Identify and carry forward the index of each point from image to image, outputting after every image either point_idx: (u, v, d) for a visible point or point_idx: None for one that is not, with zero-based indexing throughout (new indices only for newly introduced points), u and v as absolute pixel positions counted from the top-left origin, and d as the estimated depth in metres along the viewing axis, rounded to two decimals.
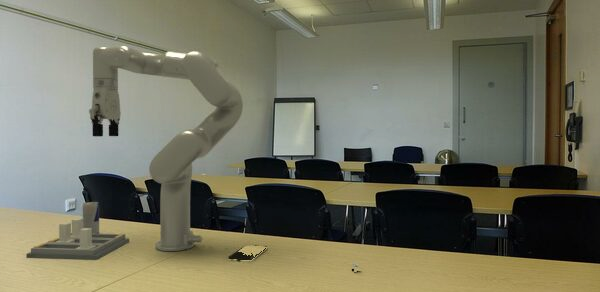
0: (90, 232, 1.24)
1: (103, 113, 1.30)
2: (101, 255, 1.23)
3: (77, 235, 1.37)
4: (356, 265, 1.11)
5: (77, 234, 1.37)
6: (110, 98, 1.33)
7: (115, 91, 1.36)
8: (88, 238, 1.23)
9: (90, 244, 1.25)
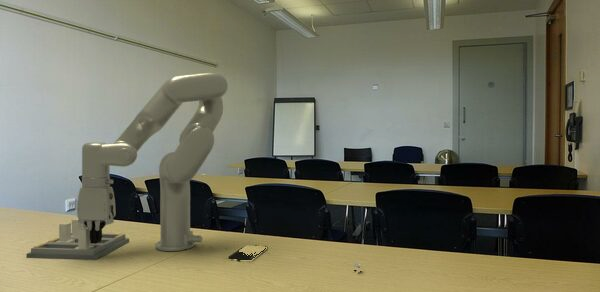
0: (89, 232, 1.25)
1: (115, 213, 1.25)
2: (101, 255, 1.23)
3: (77, 235, 1.37)
4: (358, 265, 1.11)
5: (77, 234, 1.37)
6: None
7: None
8: (87, 238, 1.24)
9: (89, 244, 1.25)
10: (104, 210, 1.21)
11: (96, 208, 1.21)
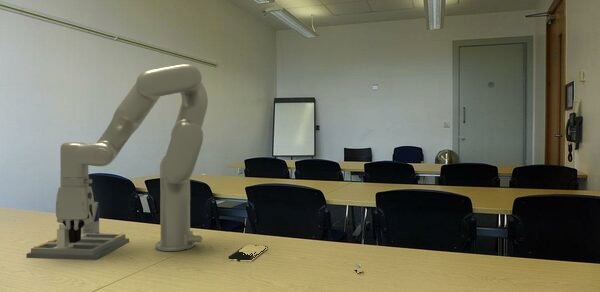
0: (68, 231, 1.25)
1: (94, 213, 1.26)
2: (101, 255, 1.23)
3: None
4: (359, 266, 1.11)
5: None
6: None
7: None
8: (65, 237, 1.24)
9: (68, 243, 1.25)
10: (82, 209, 1.22)
11: (74, 208, 1.21)
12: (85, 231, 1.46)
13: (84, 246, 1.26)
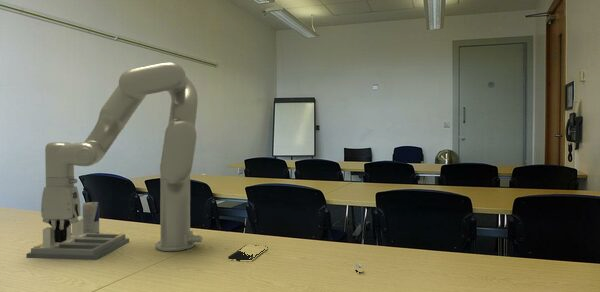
0: None
1: (79, 212, 1.26)
2: (101, 255, 1.23)
3: (77, 235, 1.37)
4: (359, 266, 1.11)
5: (77, 234, 1.37)
6: None
7: None
8: (51, 237, 1.24)
9: (54, 243, 1.25)
10: (68, 209, 1.22)
11: (60, 208, 1.22)
12: (85, 231, 1.46)
13: (84, 246, 1.26)
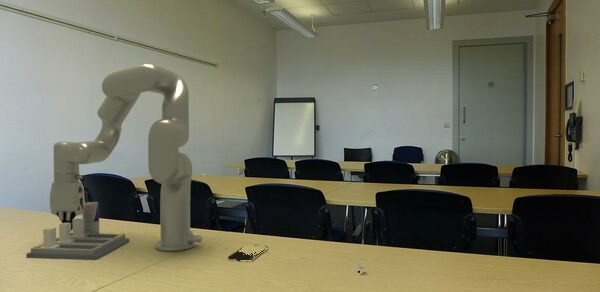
0: (54, 231, 1.25)
1: (84, 205, 1.39)
2: (101, 255, 1.23)
3: (78, 235, 1.37)
4: (361, 266, 1.10)
5: (78, 234, 1.37)
6: None
7: None
8: (52, 237, 1.24)
9: (54, 243, 1.25)
10: (74, 202, 1.35)
11: (66, 201, 1.35)
12: (85, 231, 1.46)
13: (84, 246, 1.26)
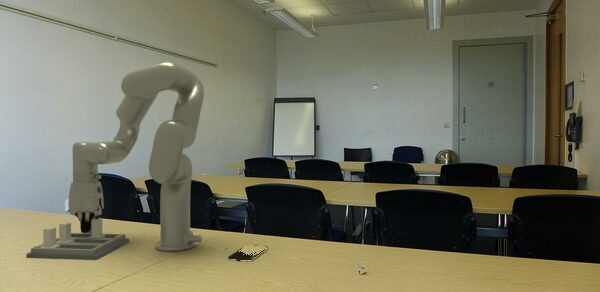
0: (54, 231, 1.25)
1: (103, 205, 1.39)
2: (101, 255, 1.23)
3: (97, 236, 1.36)
4: (362, 266, 1.10)
5: (97, 235, 1.36)
6: None
7: None
8: (52, 237, 1.24)
9: (54, 243, 1.25)
10: (93, 202, 1.35)
11: (85, 201, 1.35)
12: None
13: (84, 246, 1.26)
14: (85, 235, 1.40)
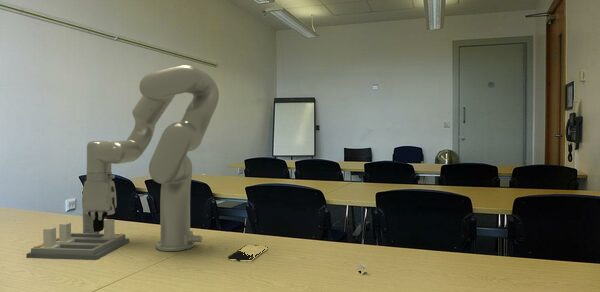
0: (54, 231, 1.25)
1: None
2: (101, 255, 1.23)
3: (109, 236, 1.36)
4: (363, 266, 1.10)
5: (109, 235, 1.36)
6: None
7: None
8: (52, 237, 1.24)
9: (54, 243, 1.25)
10: (106, 202, 1.35)
11: (99, 200, 1.34)
12: (85, 231, 1.46)
13: (84, 246, 1.26)
14: (85, 235, 1.40)
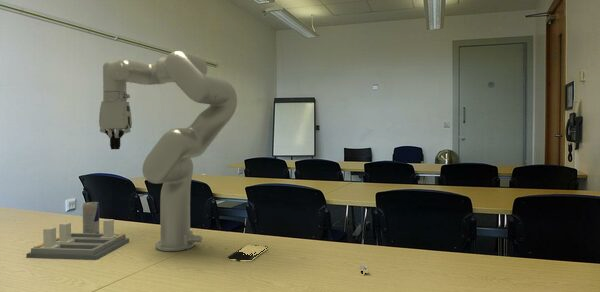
0: (54, 231, 1.25)
1: (131, 125, 1.45)
2: (101, 255, 1.23)
3: (109, 236, 1.36)
4: (365, 267, 1.10)
5: (109, 235, 1.36)
6: None
7: None
8: (52, 237, 1.24)
9: (54, 243, 1.25)
10: (122, 119, 1.41)
11: (115, 118, 1.41)
12: (85, 231, 1.46)
13: (84, 246, 1.26)
14: (85, 235, 1.40)
